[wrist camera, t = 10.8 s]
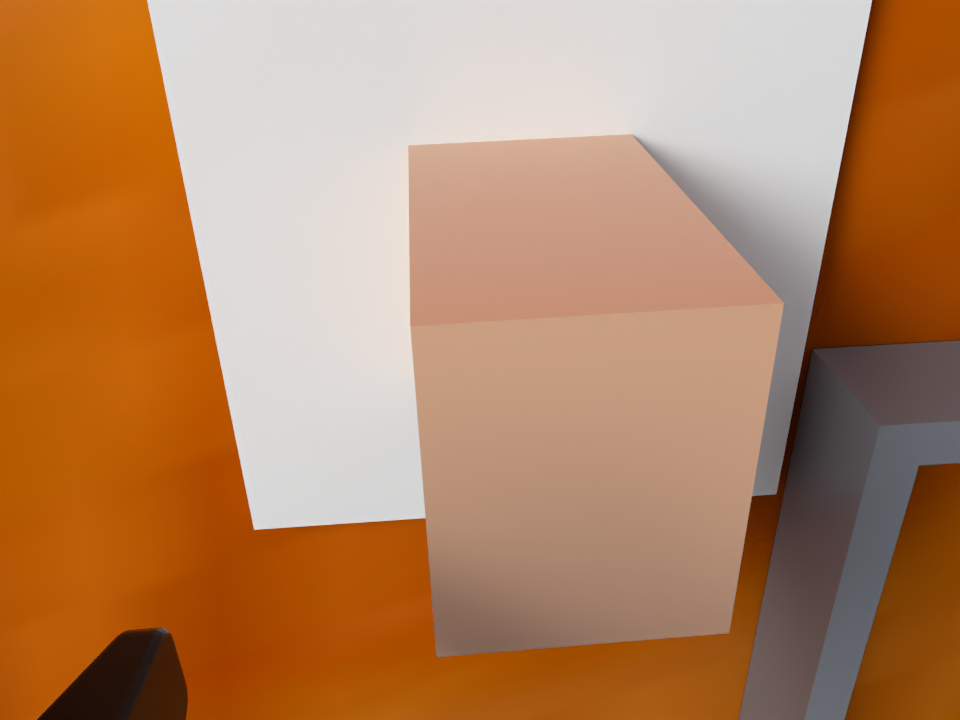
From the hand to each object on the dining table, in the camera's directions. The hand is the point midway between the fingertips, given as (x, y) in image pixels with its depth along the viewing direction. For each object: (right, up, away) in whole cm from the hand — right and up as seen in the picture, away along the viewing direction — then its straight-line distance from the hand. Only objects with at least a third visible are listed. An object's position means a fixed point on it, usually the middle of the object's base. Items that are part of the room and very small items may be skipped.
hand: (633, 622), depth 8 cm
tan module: (-1, +4, +8) cm, 9 cm away
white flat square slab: (-1, +5, +8) cm, 10 cm away
